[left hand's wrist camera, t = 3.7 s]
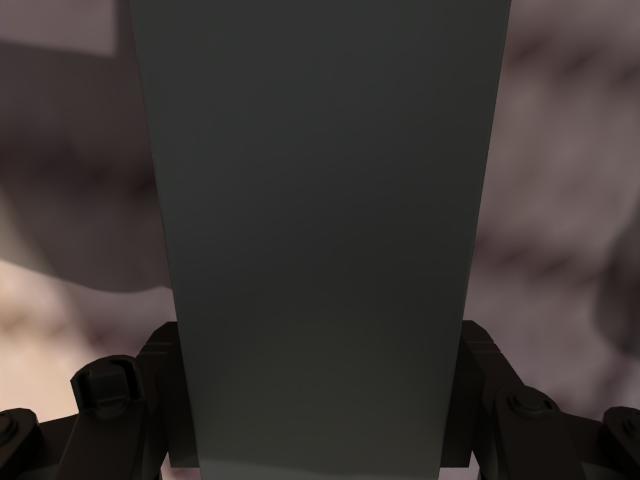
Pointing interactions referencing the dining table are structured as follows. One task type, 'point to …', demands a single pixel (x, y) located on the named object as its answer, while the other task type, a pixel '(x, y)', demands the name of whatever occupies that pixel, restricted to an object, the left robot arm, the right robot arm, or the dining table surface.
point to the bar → (319, 221)
